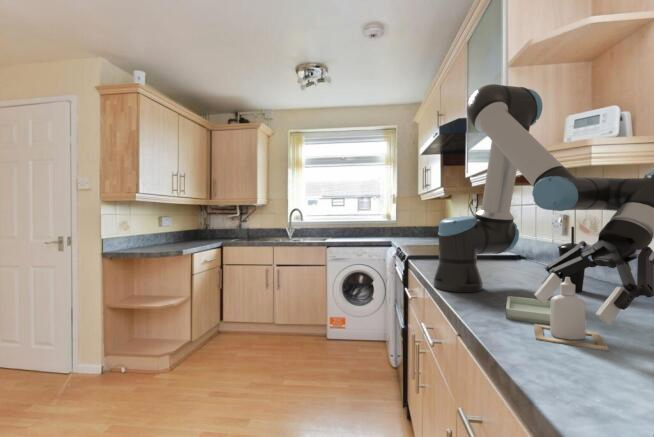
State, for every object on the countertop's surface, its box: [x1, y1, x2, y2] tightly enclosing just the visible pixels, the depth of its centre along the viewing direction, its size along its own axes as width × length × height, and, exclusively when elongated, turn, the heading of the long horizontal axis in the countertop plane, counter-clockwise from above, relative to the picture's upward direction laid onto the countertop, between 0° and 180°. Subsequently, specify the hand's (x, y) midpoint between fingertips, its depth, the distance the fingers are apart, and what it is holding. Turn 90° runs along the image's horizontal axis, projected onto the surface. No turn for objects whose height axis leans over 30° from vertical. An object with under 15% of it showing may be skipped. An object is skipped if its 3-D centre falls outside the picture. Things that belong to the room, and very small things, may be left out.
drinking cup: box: [557, 226, 586, 293], centre depth 100 cm, size 8×8×20 cm
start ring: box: [533, 323, 610, 352], centre depth 64 cm, size 11×9×1 cm
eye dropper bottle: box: [549, 277, 587, 341], centre depth 64 cm, size 4×6×12 cm
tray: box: [505, 295, 551, 326], centre depth 78 cm, size 10×13×2 cm
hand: (567, 308), depth 63 cm, fingers open, 13 cm apart
